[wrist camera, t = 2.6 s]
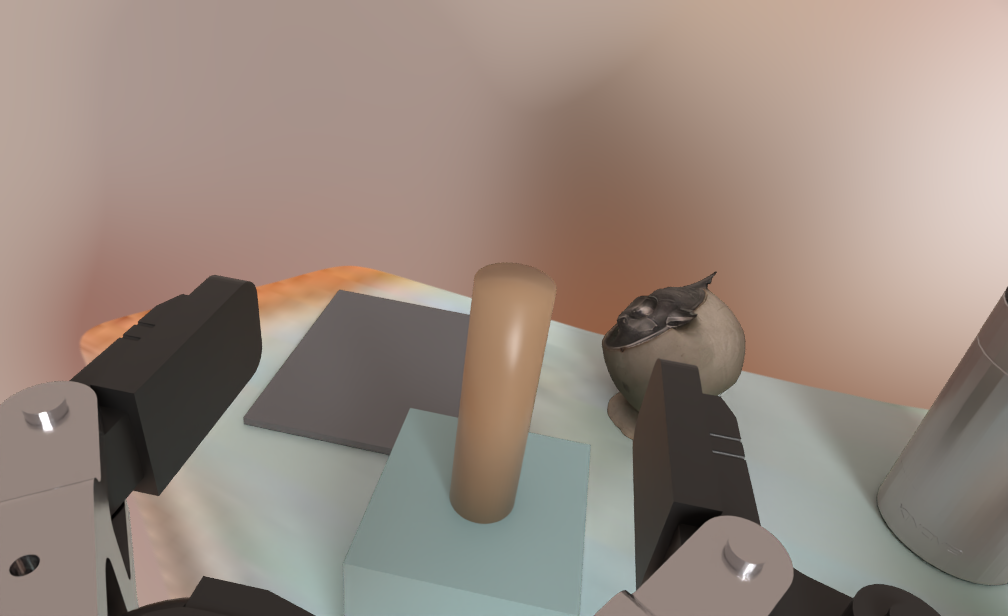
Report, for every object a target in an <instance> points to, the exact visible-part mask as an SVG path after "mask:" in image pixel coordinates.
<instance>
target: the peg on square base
mask: <svg viewBox="0 0 1008 616" xmlns="http://www.w3.org/2000/svg"><path fill="white" fill-rule="evenodd" d="M555 296H556V284H555V282H554V281H553V279H552V278H551V277H549V276H548V275H547V274H546V273H544V272H543V271H541V270H538V269H536V268H534V267H531V266H527V265H523V264H518V263H495V264H491V265H488V266H485V267H483V268H481V269H480V270H479V271H478V272H477V273H476V275H475V278H474V285H473V294H472V303H471V311H470V320H469V329H468V337H467V346H466V355H465V364H464V372H463V381H462V390H461V398H460V407H459V416H458V418H457V417H452V416H447V415H442V414H437V413H433V412H428V411H423V410H418V409H413V408H410V410H409V412H408V414H407V416H406V419H405V421H404V423H403V426H402V428H401V430H400V433H399V435H398V437H397V440H396V442H395V444H394V447H393V449H392V451H391V454H390V456H389V458H388V460H387V463H386V465H385V467H384V470H383V472H382V474H381V477H380V479H379V481H378V484H377V486H376V488H375V491H374V493H373V495H372V498H371V500H370V502H369V505H368V507H367V509H366V511H365V514H364V516H363V518H362V521H361V523H360V525H359V528H358V530H357V532H356V535H355V537H354V539H353V542H352V544H351V546H350V549H349V551H348V553H347V555H346V558H345V560H344V562H343V584H344V616H579V612H580V597H581V582H582V567H583V552H584V537H585V522H586V507H587V491H588V476H589V461H590V446H591V445H588V444H583V443H578V442H574V441H569V440H564V439H559V438H554V437H549V436H544V435H539V434H535V433H530V432H529V427H530V422H531V417H532V412H533V407H534V402H535V397H536V392H537V387H538V382H539V377H540V372H541V367H542V362H543V356H544V351H545V346H546V341H547V336H548V331H549V326H550V321H551V316H552V311H553V306H554V300H555Z"/></svg>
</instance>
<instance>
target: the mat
mask: <svg viewBox="0 0 1008 616" xmlns="http://www.w3.org/2000/svg"><path fill="white" fill-rule="evenodd" d="M469 320H470V315H467V314H462V313H456V312H451V311H446V310H441V309H436V308H431V307H426V306H420V305H415V304H410V303H405V302H400V301H395V300H390V299H384V298H379V297H374V296H369V295H364V294H359V293H354V292H348V291H343V290H339V291H338V292H337V294H336V295H335V296H334V298H333V299H332V300H331V302H330V303H329V304H328V306H327V307H326V308H325V310H324V311H323V312H322V314H321V315H320V316H319V318H318V319H317V320H316V322H315V323H314V324H313V326H312V327H311V328H310V330H309V331H308V332H307V334H306V335H305V336H304V338H303V339H302V340H301V342H300V343H299V344H298V346H297V347H296V348H295V350H294V351H293V352H292V354H291V355H290V356H289V358H288V359H287V360H286V362H285V363H284V364H283V366H282V367H281V368H280V369H279V371H278V372H277V373H276V375H275V376H274V377H273V379H272V380H271V381H270V383H269V384H268V385H267V387H266V388H265V389H264V391H263V392H262V393H261V395H260V396H259V397H258V399H257V400H256V401H255V403H254V404H253V405H252V407H251V408H250V409H249V411H248V412H247V413H246V415H245V416H244V417H243V418H244V424H247V425H252V426H256V427H261V428H266V429H271V430H275V431H280V432H285V433H289V434H294V435H299V436H304V437H308V438H313V439H318V440H323V441H327V442H332V443H337V444H342V445H346V446H351V447H356V448H360V449H365V450H370V451H375V452H379V453H384V454H389V455H390V454H391V451H392V449H393V447H394V444H395V442H396V440H397V437H398V435H399V433H400V430H401V428H402V426H403V423H404V421H405V419H406V416H407V414H408V412H409V410H410V408H413V409H418V410H423V411H428V412H433V413H437V414H442V415H447V416H452V417H457V418H458V416H459V407H460V398H461V390H462V381H463V372H464V364H465V355H466V346H467V337H468V329H469Z"/></svg>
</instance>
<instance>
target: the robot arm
mask: <svg viewBox="0 0 1008 616" xmlns="http://www.w3.org/2000/svg"><path fill="white" fill-rule="evenodd" d="M261 353H262V339H261V329H260V318H259V308H258V298H257V290H256V287H255V285H254V284H253V283H252V282H249V281H244V280H239V279H233V278H228V277H223V276H217V275H212V276H210V277H209V278H208V279H206V280H205V281H204V282H203V283H202V284H201V285H200V286H199V287H197V288H196V289H195V290H194V291H193V292H192V293H191V294H190V295H184V294H182V295H179V296H177V297H175V298H173V299H170V300H168V301H166V302H164V303H162V304H159V305H157V306H156V307H154V308H153V309H152V310H151V311H150V312H149V313H147V314H146V315H145V316H144V317H143V318H142V319H140V320H139V321H138V325H134V326H132V327H131V328H130V329H129V330H128V331H127V332H125V333H124V334H123V338H118V339H117V340H116V341H115V342H114V343H113V344H112V345H110V346H109V347H108V348H107V349H106V350H105V351H103V352H102V353H101V354H100V355H99V356H98V357H96V358H95V359H94V360H93V361H92V362H91V363H89V364H88V365H87V366H86V367H85V368H84V369H83V370H81V371H80V372H79V373H78V374H77V375H76V376H74V377H73V378H72V379H71V380H70V381H54V382H47V383H43V384H39V385H35V386H32V387H29V388H27V389H25V390H22V391H20V392H18V393H16V394H14V395H13V396H11V397H9V398H8V399H6V400H5V401H4V402H3V403H2V404H0V616H315V615H313V614H311V613H309V612H308V611H306V610H304V609H302V608H300V607H298V606H296V605H295V604H293V603H291V602H289V601H287V600H285V599H283V598H282V597H280V596H278V595H276V594H274V593H272V592H270V591H268V590H264V589H260V588H255V587H251V586H246V585H242V584H237V583H233V582H228V581H223V580H219V579H214V578H210V577H205V576H203V577H202V579H201V581H200V582H199V584H198V585H197V587H196V589H195V590H194V592H193V593H192V595H191V597H190V598H178V599H171V600H165V601H161V602H157V603H153V604H149V605H146V606H143V607H140V608H139V607H138V600H137V592H136V581H135V570H134V558H133V547H132V535H131V524H130V512H129V508H128V505H127V501H126V498H127V497H128V496H129V495H130V493H131V492H132V491H138V492H142V493H147V494H152V495H156V496H159V495H160V494H161V493H162V492H163V490H164V489H165V488H166V486H167V485H168V484H169V483H170V481H171V480H172V479H173V477H174V476H175V475H176V474H177V472H178V471H179V470H180V469H181V467H182V466H183V465H184V463H185V462H186V461H187V460H188V458H189V457H190V456H191V454H192V453H193V452H194V451H195V449H196V448H197V447H198V445H199V444H200V443H201V442H202V440H203V439H204V438H205V437H206V435H207V434H208V433H209V431H210V430H211V429H212V428H213V426H214V425H215V424H216V422H217V421H218V420H219V419H220V417H221V416H222V415H223V413H224V412H225V411H226V410H227V408H228V407H229V406H230V405H231V403H232V402H233V401H234V399H235V398H236V397H237V396H238V394H239V393H240V392H241V390H242V389H243V388H244V387H245V385H246V384H247V383H248V381H249V380H250V379H251V378H252V376H253V375H254V373H255V372H256V370H257V368H258V365H259V362H260V359H261ZM740 440H741V437H740V432H739V428H738V424H737V419H736V417H735V415H734V414H733V413H732V411H731V410H730V409H729V407H728V406H727V405H726V403H725V402H724V400H723V399H722V398H721V397H719V396H714V395H709V394H704V393H703V392H702V386H701V380H700V375H699V369H698V367H697V366H696V365H691V364H686V363H681V362H675V361H670V360H665V359H660V358H658V359H657V360H656V362H655V364H654V367H653V370H652V373H651V376H650V380H649V383H648V386H647V389H646V392H645V395H644V399H643V402H642V405H641V408H640V411H639V414H638V418H637V421H636V426H635V431H634V438H633V482H634V523H635V564H636V591H635V592H634V593H633V594H630V593H629V592H628V591H626V590H624V591H621V592H619V593H618V594H617V595H615V596H614V597H613V598H612V599H611V600H610V601H608V602H607V603H606V604H605V605H604V606H603V607H602V608H601V609H600V610H599V611H598V612H597V613H596V614H595V615H594V616H940V615H939V614H938V613H937V612H936V611H935V610H934V609H933V608H932V607H931V606H929V605H928V604H927V603H925V602H924V601H922V600H921V599H920V598H918V597H916V596H914V595H913V594H911V593H909V592H907V591H905V590H902V589H900V588H897V587H893V586H889V585H884V584H874V585H868V586H866V587H863V588H862V589H860V590H859V591H858V592H857V594H856V595H855V597H854V598H851V597H849V596H847V595H845V594H843V593H841V592H839V591H837V590H835V589H833V588H831V587H828V586H826V585H824V584H822V583H820V582H818V581H816V580H814V579H812V578H810V577H808V576H806V575H804V574H802V573H801V572H799V571H798V570H796V569H795V568H793V565H792V561H791V559H790V556H789V554H788V553H787V551H786V549H785V548H784V546H783V545H782V544H781V543H780V541H779V540H778V539H777V538H776V537H775V536H774V535H772V534H771V533H770V532H769V531H767V530H766V529H765V528H763V527H761V525H760V520H759V516H758V511H757V507H756V503H755V498H754V494H753V489H752V485H751V481H750V476H749V472H748V468H747V463H746V460H744V457H745V454H744V450H743V446H742V443H741V442H740ZM877 501H878V507H879V510H880V512H881V515H882V517H883V518H884V520H885V522H886V523H887V525H888V527H889V528H890V529H891V530H892V531H893V533H894V534H895V535H896V536H897V537H898V539H899V540H901V541H902V542H903V543H904V544H905V545H906V546H907V547H908V548H909V549H910V550H911V551H913V552H914V553H915V554H917V555H918V556H919V557H921V558H922V559H924V560H925V561H926V562H928V563H930V564H931V565H933V566H935V567H937V568H938V569H940V570H942V571H944V572H946V573H948V574H950V575H953V576H955V577H957V578H960V579H963V580H966V581H969V582H973V583H977V584H984V585H1003V584H1006V583H1008V287H1007V289H1006V291H1005V292H1004V294H1003V295H1002V297H1001V298H1000V300H999V302H998V303H997V305H996V306H995V308H994V309H993V311H992V312H991V314H990V315H989V317H988V319H987V320H986V322H985V323H984V325H983V326H982V328H981V330H980V332H979V333H978V335H977V336H976V338H975V340H974V341H973V342H972V344H971V346H970V347H969V349H968V350H967V352H966V353H965V355H964V357H963V358H962V360H961V361H960V363H959V364H958V366H957V367H956V369H955V371H954V372H953V374H952V375H951V377H950V378H949V380H948V382H947V383H946V385H945V386H944V388H943V389H942V391H941V393H940V394H939V396H938V397H937V399H936V400H935V402H934V403H933V405H932V407H931V408H930V410H929V411H928V413H927V414H926V416H925V418H924V419H923V421H922V422H921V424H920V425H919V427H918V428H917V430H916V432H915V433H914V435H913V436H912V438H911V439H910V441H909V443H908V444H907V446H906V447H905V448H904V450H903V451H902V453H901V455H900V456H899V458H898V459H897V461H896V462H895V464H894V466H893V467H892V469H891V470H890V472H889V473H888V475H887V476H886V478H885V480H884V481H883V483H882V484H881V486H880V487H879V490H878V494H877Z"/></svg>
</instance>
